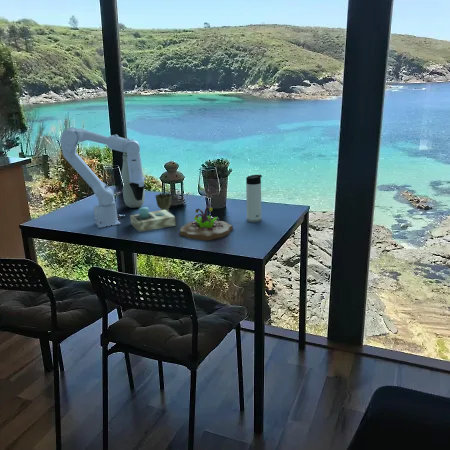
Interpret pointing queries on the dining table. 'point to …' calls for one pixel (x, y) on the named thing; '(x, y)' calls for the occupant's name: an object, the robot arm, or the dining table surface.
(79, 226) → the dining table surface
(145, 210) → the peg
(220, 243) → the dining table surface
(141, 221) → the socket block
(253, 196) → the travel mug
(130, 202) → the pale grey bottle
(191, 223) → the plant
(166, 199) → the cup
